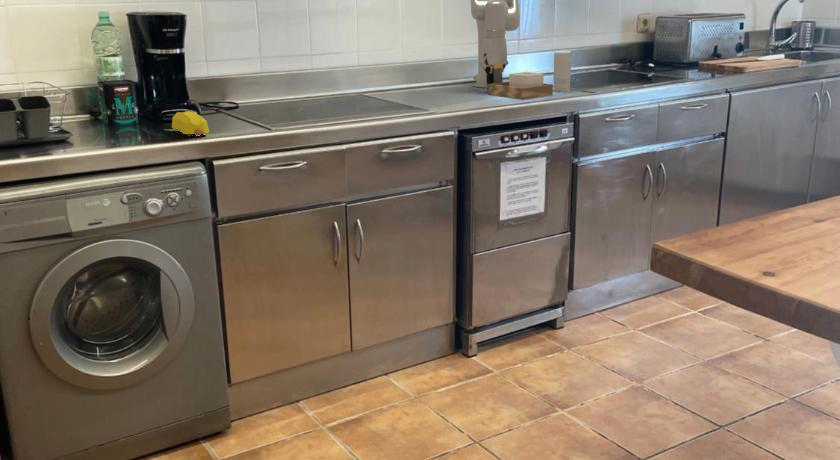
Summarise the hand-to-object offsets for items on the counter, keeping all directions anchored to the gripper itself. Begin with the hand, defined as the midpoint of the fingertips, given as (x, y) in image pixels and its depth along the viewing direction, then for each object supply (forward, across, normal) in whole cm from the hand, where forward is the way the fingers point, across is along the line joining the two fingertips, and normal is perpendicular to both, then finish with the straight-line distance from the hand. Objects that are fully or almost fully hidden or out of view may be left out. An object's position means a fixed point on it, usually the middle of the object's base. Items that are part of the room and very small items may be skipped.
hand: (494, 82), depth 318 cm
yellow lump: (+5, +123, -6) cm, 123 cm away
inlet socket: (+4, -3, +14) cm, 15 cm away
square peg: (+4, 0, 0) cm, 4 cm away
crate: (+4, -2, +12) cm, 13 cm away
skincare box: (+4, -22, +15) cm, 27 cm away
